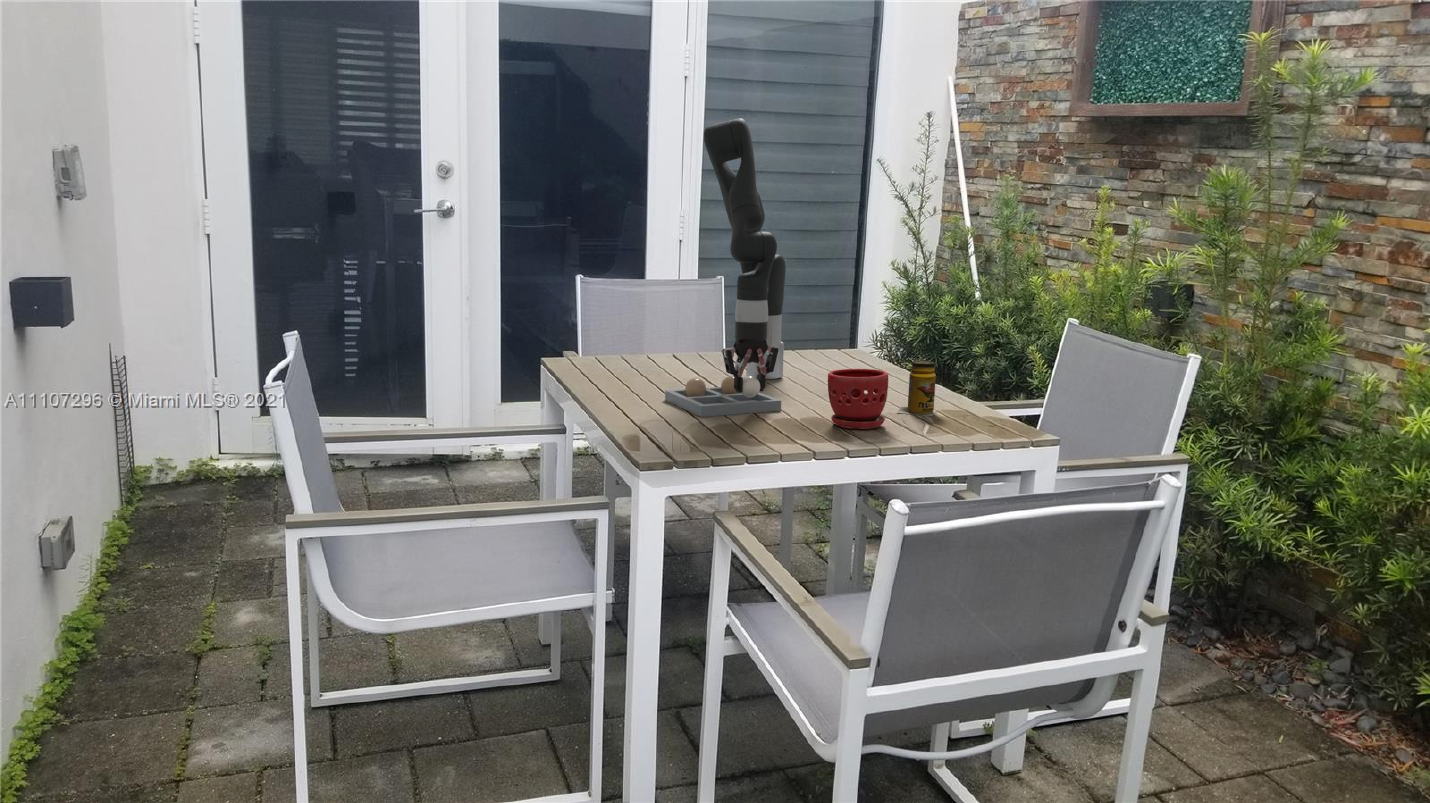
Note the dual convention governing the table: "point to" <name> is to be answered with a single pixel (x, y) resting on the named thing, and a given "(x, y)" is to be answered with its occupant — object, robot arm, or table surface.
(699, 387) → the brown egg
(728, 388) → the brown egg
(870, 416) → the plant pot
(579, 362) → the table surface
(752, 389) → the pale egg
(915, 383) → the condiment
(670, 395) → the egg tray
